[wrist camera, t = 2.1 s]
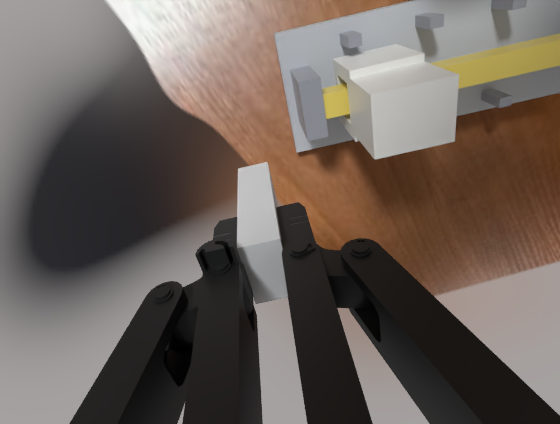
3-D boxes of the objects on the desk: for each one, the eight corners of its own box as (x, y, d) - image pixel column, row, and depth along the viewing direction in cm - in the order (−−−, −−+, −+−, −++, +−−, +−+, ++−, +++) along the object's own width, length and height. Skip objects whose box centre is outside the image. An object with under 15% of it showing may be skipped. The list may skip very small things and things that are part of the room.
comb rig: (295, 149, 33) (307, 183, 27) (273, 33, 28) (282, 44, 22) (604, 78, 32) (686, 98, 26) (642, -55, 27) (755, -68, 21)
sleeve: (339, 120, 30) (375, 166, 22) (332, 58, 27) (369, 86, 19) (397, 107, 30) (454, 149, 22) (395, 43, 27) (459, 65, 19)
